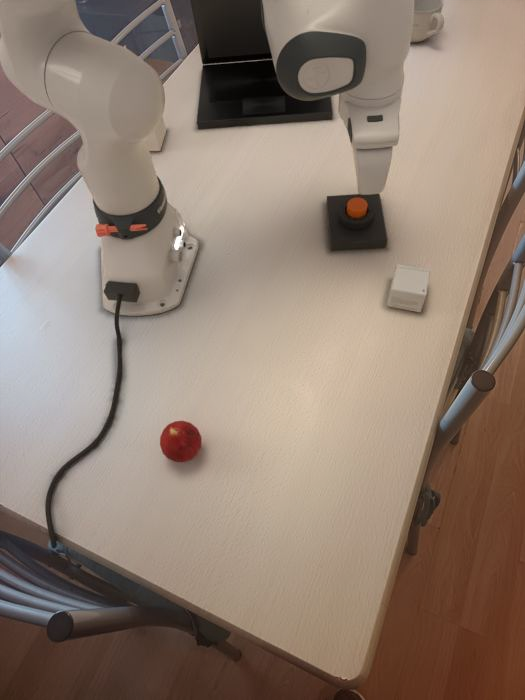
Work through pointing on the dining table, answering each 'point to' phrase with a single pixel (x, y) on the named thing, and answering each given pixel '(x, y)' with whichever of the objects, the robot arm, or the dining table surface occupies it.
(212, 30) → the laptop screen
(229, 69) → the laptop
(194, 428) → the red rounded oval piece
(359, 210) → the switch button
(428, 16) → the teacup
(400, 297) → the small box
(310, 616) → the dining table surface
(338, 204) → the switch block
